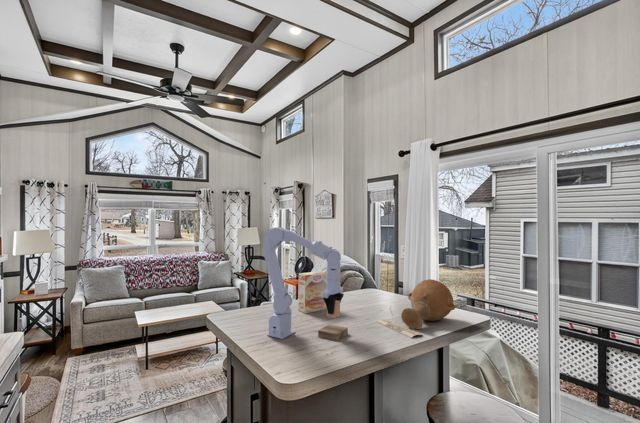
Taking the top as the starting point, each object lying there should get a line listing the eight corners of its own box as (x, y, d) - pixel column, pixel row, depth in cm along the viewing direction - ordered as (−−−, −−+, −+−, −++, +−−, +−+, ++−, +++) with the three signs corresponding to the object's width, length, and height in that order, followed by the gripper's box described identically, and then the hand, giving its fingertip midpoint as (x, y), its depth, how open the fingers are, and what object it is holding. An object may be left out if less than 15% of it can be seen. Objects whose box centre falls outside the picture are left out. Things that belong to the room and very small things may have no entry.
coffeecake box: (304, 313, 165) (305, 274, 166) (297, 310, 171) (297, 273, 171) (328, 309, 174) (328, 272, 174) (320, 306, 179) (320, 270, 180)
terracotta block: (335, 317, 131) (335, 302, 131) (326, 316, 133) (326, 301, 133) (339, 315, 135) (339, 300, 135) (331, 313, 137) (331, 299, 137)
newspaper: (422, 338, 133) (422, 333, 134) (409, 340, 130) (409, 336, 130) (387, 322, 155) (387, 318, 155) (374, 323, 152) (374, 320, 152)
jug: (467, 296, 155) (444, 317, 132) (444, 322, 163) (419, 346, 141) (432, 268, 165) (406, 283, 142) (413, 294, 173) (384, 312, 150)
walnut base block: (338, 342, 128) (338, 334, 128) (318, 337, 132) (318, 330, 132) (347, 335, 135) (347, 327, 135) (328, 331, 140) (328, 324, 140)
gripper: (334, 282, 126) (333, 318, 126) (349, 277, 139) (349, 309, 138) (318, 281, 130) (317, 315, 129) (334, 275, 142) (334, 307, 142)
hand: (333, 312), depth 134 cm, fingers closed on terracotta block, 4 cm apart
